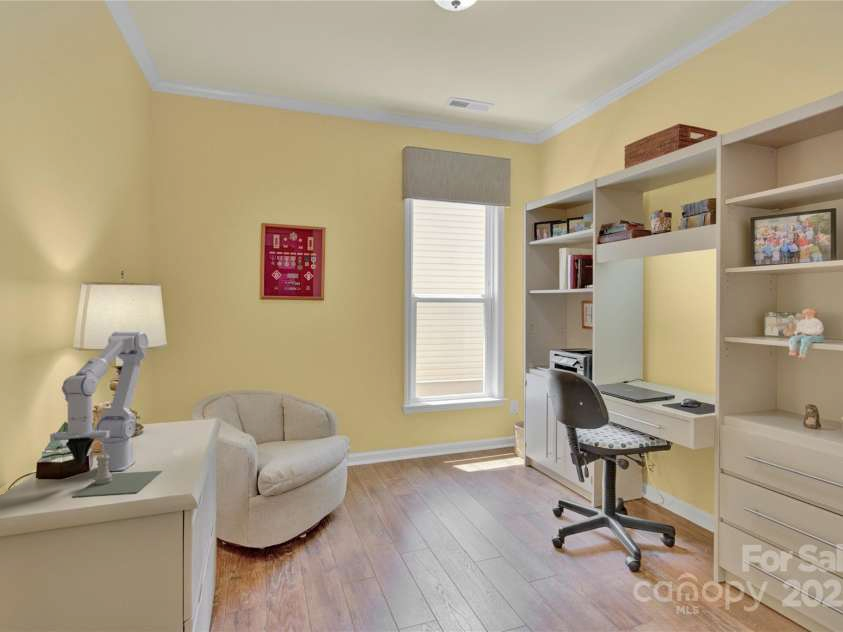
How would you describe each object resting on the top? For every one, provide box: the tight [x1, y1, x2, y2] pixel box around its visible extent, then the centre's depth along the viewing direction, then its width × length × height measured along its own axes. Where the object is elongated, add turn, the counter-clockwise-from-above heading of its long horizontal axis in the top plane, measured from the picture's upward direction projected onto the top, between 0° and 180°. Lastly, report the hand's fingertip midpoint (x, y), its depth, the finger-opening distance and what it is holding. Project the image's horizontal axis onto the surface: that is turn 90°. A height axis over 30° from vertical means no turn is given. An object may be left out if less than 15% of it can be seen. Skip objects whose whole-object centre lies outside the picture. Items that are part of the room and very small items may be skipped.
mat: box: [71, 470, 163, 498], centre depth 137 cm, size 18×16×1 cm
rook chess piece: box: [93, 453, 112, 485], centre depth 137 cm, size 4×4×8 cm
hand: (80, 464), depth 136 cm, fingers closed
